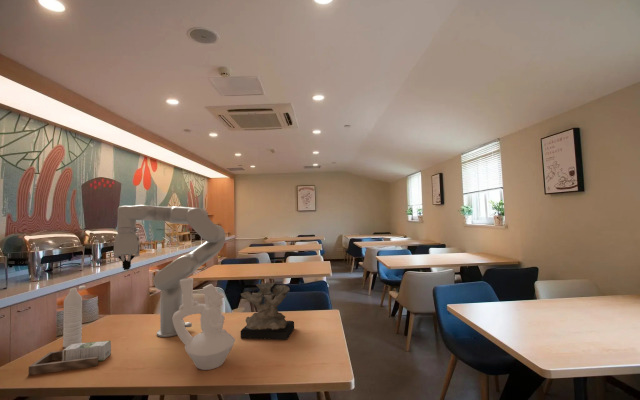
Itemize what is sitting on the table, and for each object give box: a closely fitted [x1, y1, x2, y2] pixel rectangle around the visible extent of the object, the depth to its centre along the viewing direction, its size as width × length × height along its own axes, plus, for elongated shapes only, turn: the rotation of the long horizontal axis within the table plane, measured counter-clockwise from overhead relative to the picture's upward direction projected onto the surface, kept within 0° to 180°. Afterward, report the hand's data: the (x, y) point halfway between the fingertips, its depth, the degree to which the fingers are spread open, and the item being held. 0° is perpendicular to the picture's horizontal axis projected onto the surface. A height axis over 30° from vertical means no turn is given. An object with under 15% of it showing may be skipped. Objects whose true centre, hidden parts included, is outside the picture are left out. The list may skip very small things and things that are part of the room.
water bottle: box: [62, 285, 87, 349], centre depth 136 cm, size 9×6×25 cm
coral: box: [239, 281, 295, 341], centre depth 144 cm, size 25×20×22 cm
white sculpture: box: [172, 277, 236, 371], centre depth 113 cm, size 18×22×32 cm
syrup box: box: [61, 340, 112, 362], centre depth 119 cm, size 6×6×14 cm
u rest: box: [28, 350, 99, 376], centre depth 117 cm, size 21×12×3 cm, turn 104°
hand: (126, 269), depth 144 cm, fingers closed
